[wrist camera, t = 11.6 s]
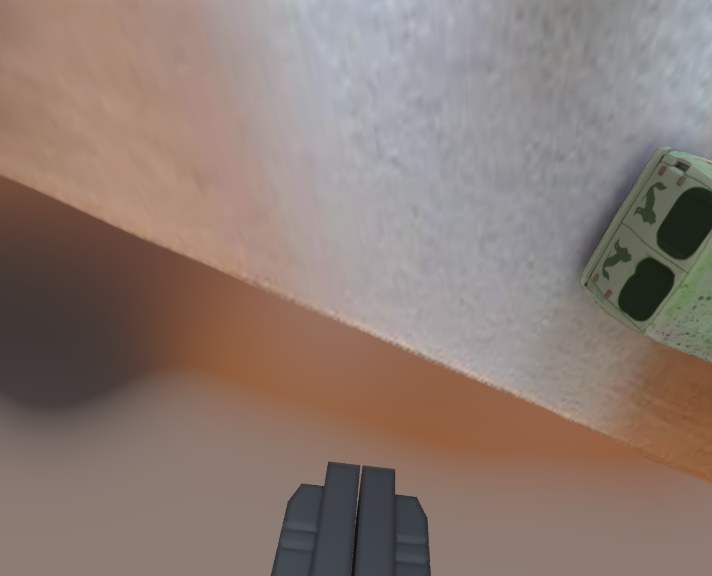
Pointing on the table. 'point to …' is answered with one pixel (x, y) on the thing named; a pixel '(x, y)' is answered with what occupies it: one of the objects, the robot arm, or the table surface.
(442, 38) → the table surface
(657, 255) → the toy car
